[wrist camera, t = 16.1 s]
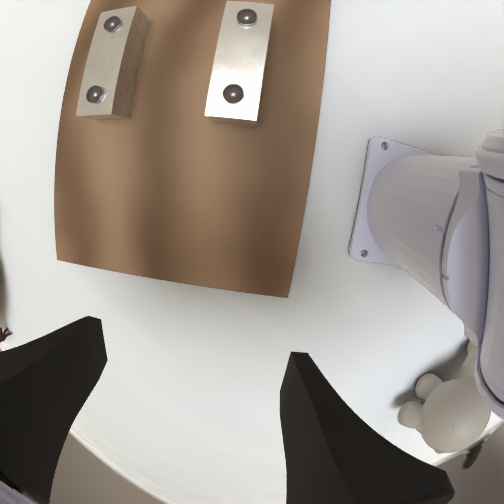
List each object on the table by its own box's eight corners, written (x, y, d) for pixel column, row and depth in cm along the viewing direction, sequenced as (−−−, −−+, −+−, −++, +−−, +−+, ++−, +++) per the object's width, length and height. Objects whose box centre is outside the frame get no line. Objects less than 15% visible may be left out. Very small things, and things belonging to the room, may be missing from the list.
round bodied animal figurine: (472, 341, 24) (529, 358, 16) (415, 434, 22) (466, 468, 14) (450, 310, 22) (520, 325, 14) (383, 418, 21) (444, 462, 13)
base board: (331, -64, 10) (333, -70, 9) (286, 291, 19) (287, 297, 18) (128, -63, 10) (125, -68, 9) (64, 255, 19) (57, 259, 18)
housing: (272, 23, 13) (274, 1, 10) (256, 126, 15) (256, 119, 12) (117, 26, 13) (98, 10, 10) (97, 120, 15) (72, 116, 12)
